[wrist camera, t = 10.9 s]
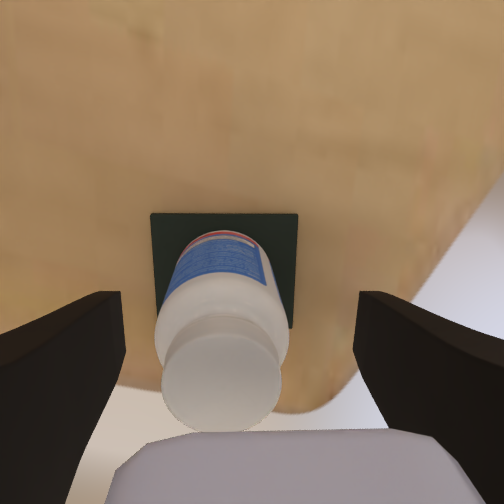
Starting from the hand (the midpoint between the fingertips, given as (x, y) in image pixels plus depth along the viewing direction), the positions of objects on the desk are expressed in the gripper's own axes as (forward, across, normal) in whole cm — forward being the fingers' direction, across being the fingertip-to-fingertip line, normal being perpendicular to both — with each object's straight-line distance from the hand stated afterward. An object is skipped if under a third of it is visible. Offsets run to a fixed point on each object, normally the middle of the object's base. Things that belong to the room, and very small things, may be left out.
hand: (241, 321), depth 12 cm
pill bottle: (+10, +1, +2) cm, 11 cm away
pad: (+10, +1, +2) cm, 11 cm away
